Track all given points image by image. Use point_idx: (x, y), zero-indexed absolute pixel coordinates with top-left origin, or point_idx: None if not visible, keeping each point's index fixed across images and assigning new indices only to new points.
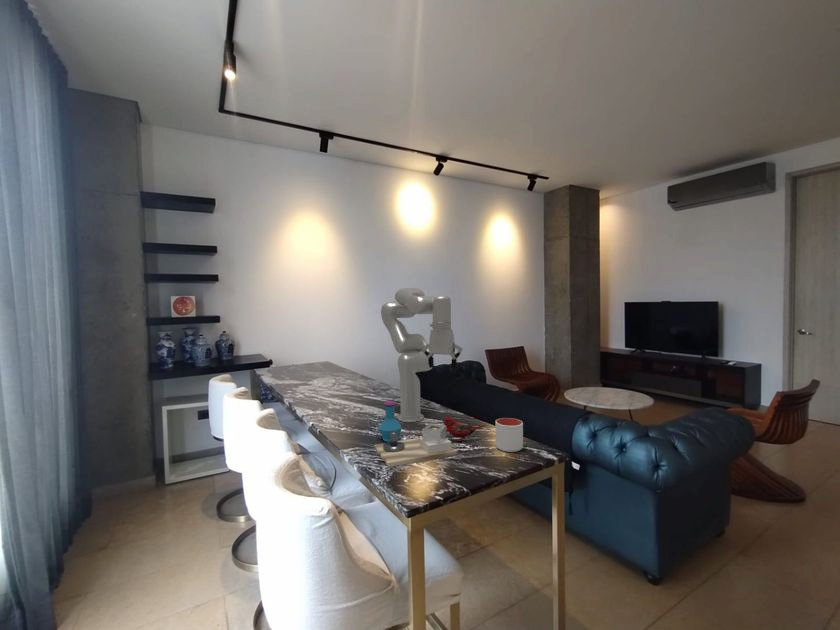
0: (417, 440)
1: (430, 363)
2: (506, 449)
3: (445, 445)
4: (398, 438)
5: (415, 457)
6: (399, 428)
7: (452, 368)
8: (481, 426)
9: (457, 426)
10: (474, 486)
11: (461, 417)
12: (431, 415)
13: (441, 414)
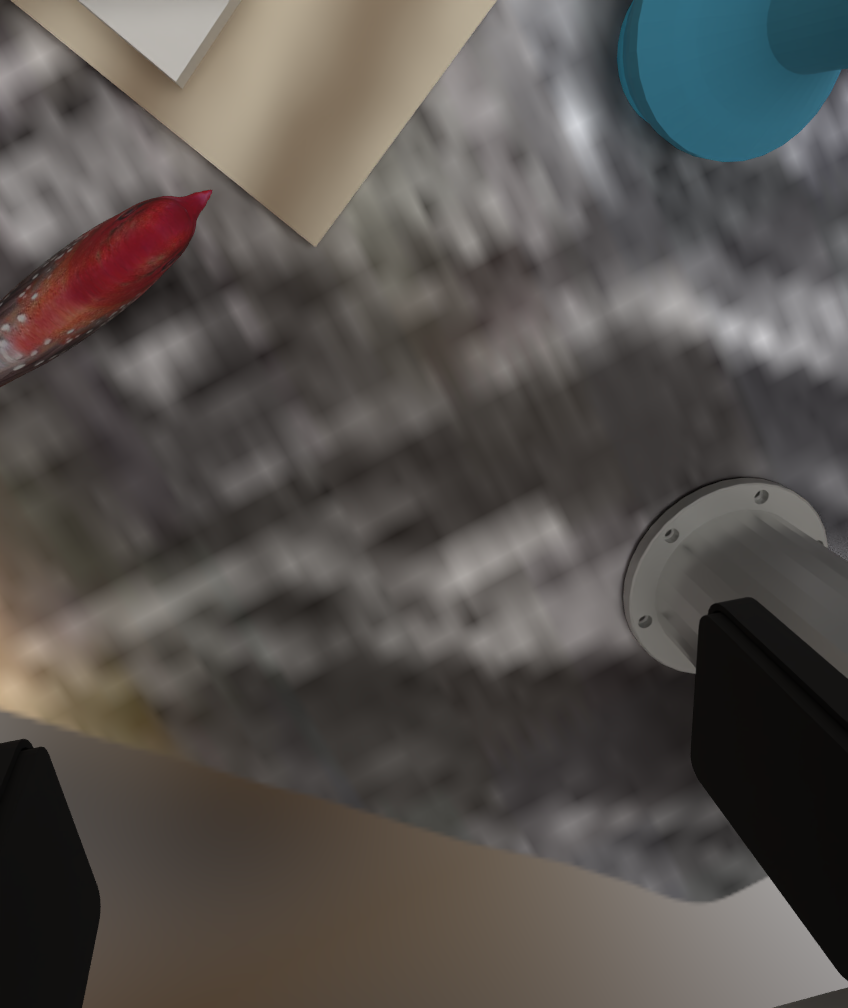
0: (406, 19)
1: (789, 671)
2: None
3: None
4: (623, 87)
5: None
6: (642, 27)
7: (3, 747)
8: None
9: (56, 259)
10: None
11: (375, 788)
12: (603, 714)
13: (543, 768)
